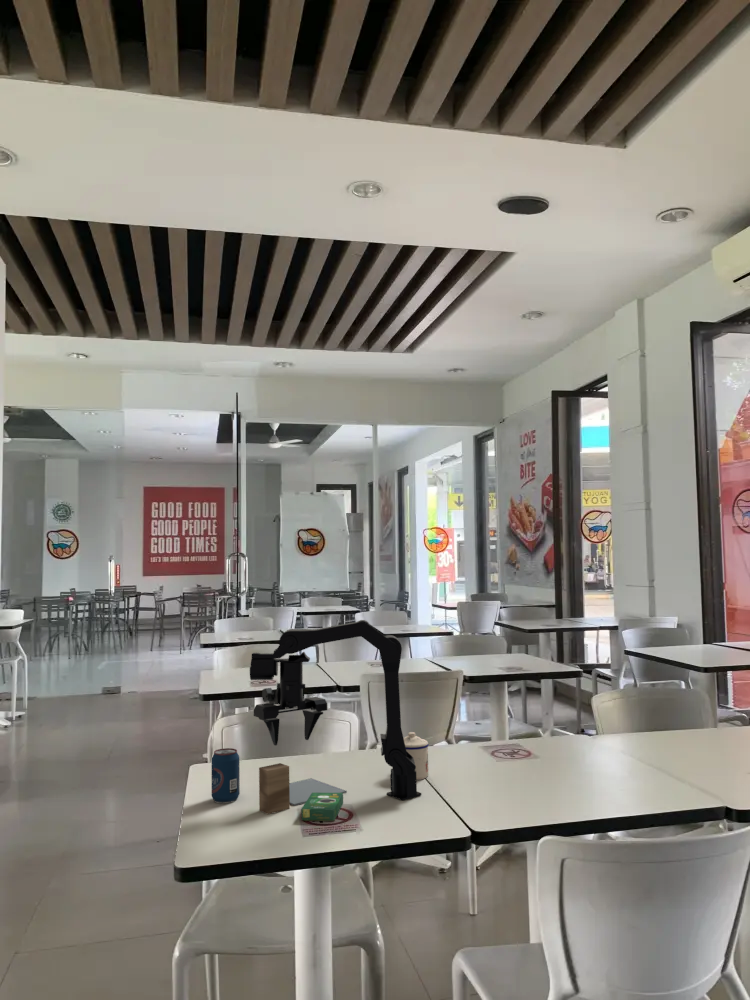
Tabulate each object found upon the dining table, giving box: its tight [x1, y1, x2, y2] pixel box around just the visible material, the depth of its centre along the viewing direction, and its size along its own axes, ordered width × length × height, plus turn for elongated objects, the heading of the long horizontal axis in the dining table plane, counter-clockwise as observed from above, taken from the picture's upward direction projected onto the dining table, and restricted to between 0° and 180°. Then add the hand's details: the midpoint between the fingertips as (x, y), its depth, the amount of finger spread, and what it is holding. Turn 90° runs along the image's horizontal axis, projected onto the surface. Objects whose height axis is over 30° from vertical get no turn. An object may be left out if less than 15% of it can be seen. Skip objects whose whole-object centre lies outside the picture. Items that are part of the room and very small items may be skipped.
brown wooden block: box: [258, 763, 291, 815], centre depth 187 cm, size 4×6×10 cm, turn 129°
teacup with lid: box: [403, 731, 429, 781], centre depth 215 cm, size 12×9×12 cm
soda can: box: [211, 747, 241, 804], centre depth 195 cm, size 7×7×12 cm
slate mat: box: [289, 777, 348, 807], centre depth 200 cm, size 16×16×1 cm
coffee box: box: [300, 793, 344, 822], centre depth 184 cm, size 8×3×13 cm
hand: (291, 742), depth 196 cm, fingers open, 9 cm apart
